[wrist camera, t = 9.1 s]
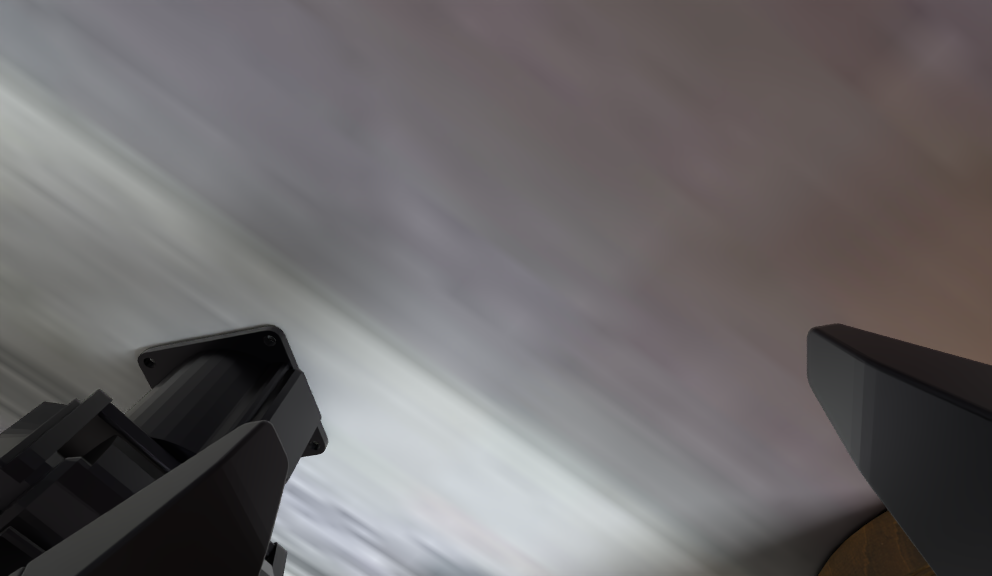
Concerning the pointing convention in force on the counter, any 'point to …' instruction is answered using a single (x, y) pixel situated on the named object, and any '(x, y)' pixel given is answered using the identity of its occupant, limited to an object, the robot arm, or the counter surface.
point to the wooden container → (878, 552)
